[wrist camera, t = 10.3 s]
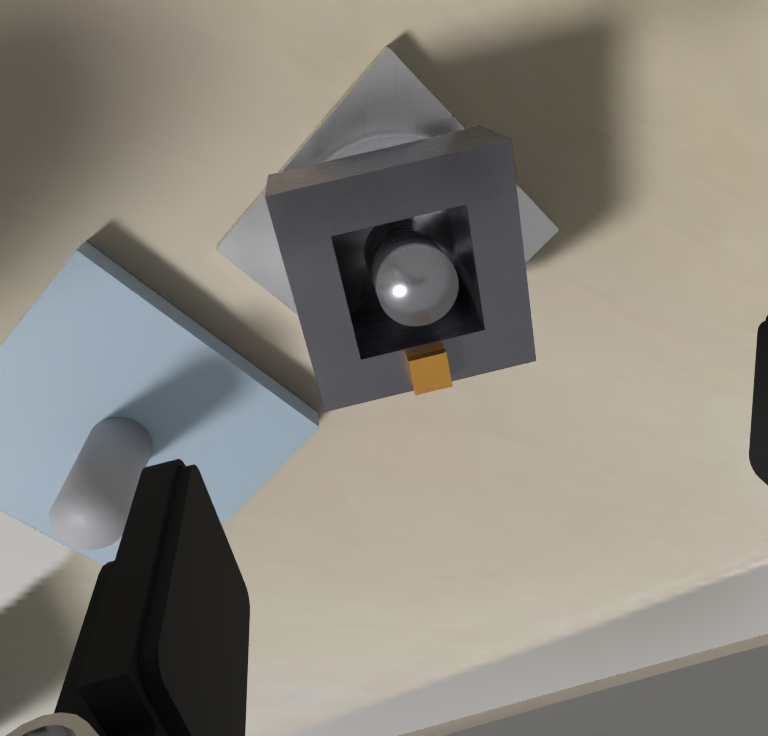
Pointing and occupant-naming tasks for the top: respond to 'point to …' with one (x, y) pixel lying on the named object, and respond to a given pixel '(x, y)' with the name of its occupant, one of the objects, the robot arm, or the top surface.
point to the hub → (387, 241)
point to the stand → (128, 407)
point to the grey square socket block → (393, 203)
